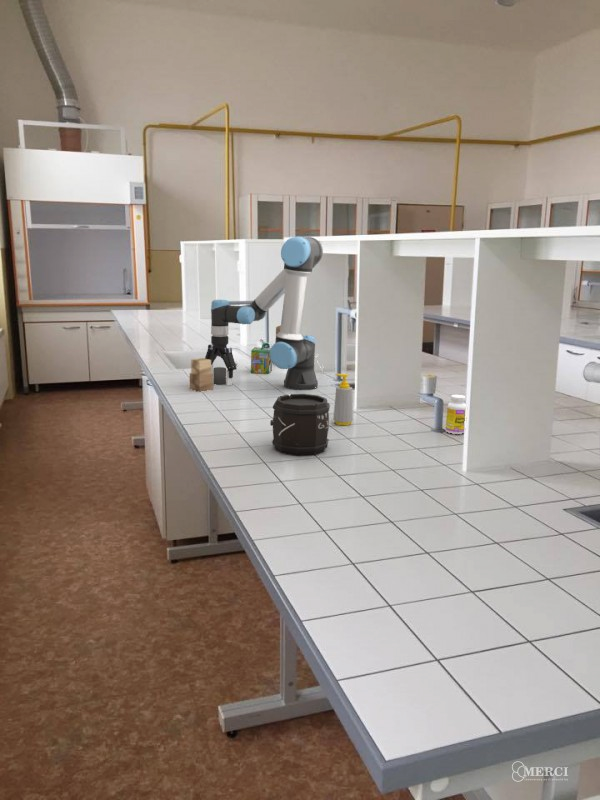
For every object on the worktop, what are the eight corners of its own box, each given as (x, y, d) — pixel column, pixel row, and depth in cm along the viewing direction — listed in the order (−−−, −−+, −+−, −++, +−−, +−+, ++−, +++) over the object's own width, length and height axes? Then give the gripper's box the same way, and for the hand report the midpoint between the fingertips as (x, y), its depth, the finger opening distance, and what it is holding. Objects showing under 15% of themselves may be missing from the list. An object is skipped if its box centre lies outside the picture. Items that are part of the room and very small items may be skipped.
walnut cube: (212, 390, 289) (212, 373, 287) (199, 392, 284) (199, 375, 283) (203, 387, 294) (202, 371, 292) (189, 389, 289) (189, 373, 287)
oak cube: (211, 373, 287) (211, 359, 286) (199, 375, 283) (199, 361, 282) (202, 371, 292) (202, 358, 290) (191, 373, 287) (191, 359, 286)
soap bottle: (332, 420, 244) (334, 371, 240) (352, 421, 244) (354, 372, 240) (333, 425, 237) (334, 375, 233) (352, 426, 237) (355, 376, 233)
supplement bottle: (453, 435, 228) (455, 398, 225) (441, 430, 234) (444, 394, 231) (469, 434, 231) (472, 397, 228) (457, 429, 237) (460, 393, 234)
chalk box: (254, 370, 336) (254, 340, 333) (272, 371, 335) (272, 341, 332) (250, 373, 327) (250, 343, 324) (268, 374, 326) (269, 344, 323)
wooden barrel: (274, 438, 220) (275, 391, 216) (329, 441, 218) (331, 394, 214) (266, 455, 202) (267, 404, 198) (326, 458, 201) (328, 407, 197)
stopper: (228, 383, 302) (228, 368, 301) (218, 385, 298) (218, 369, 297) (220, 381, 306) (220, 366, 304) (211, 383, 302) (210, 368, 300)
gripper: (244, 338, 291) (244, 386, 296) (209, 331, 308) (209, 377, 313) (231, 339, 286) (231, 388, 291) (195, 332, 303) (196, 379, 308)
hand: (219, 382), depth 302 cm, fingers open, 13 cm apart
